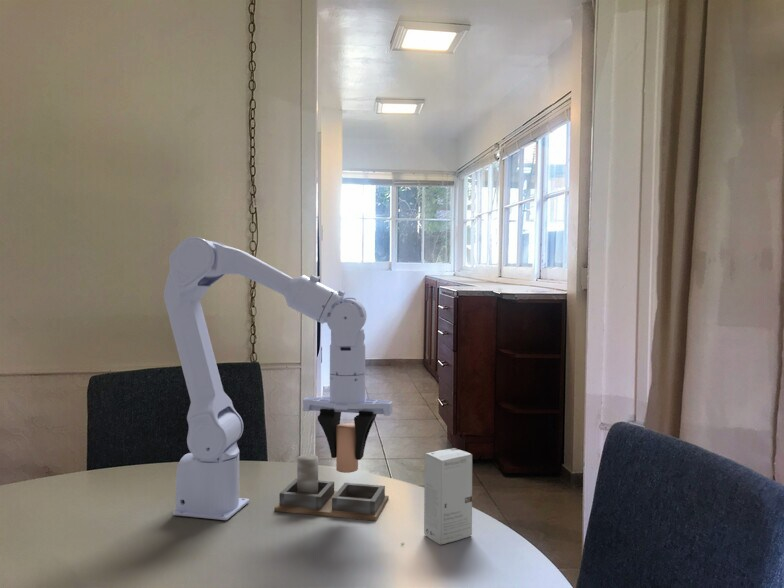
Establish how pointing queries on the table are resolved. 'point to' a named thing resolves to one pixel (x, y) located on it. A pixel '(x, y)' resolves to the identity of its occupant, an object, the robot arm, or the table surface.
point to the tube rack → (329, 495)
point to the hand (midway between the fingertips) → (347, 457)
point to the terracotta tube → (346, 448)
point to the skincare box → (448, 495)
